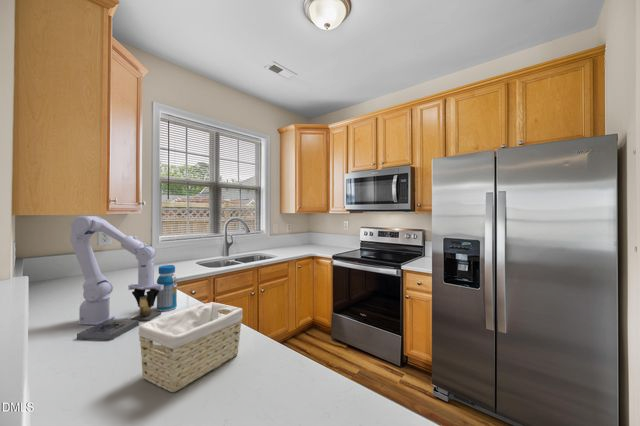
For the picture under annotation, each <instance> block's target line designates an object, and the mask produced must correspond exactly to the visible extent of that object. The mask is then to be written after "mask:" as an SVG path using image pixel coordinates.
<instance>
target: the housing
mask: <svg viewBox="0 0 640 426" xmlns="http://www.w3.org/2000/svg"><path fill="white" fill-rule="evenodd" d="M139 326H140V321H139V320H130V319H111V320H106V321H104V322H102V323H99V324H97V325H93V326H91V327H88V328H87V329H84V330H82V331H80V332H77V333H76V340H80V341H81V340H82V341H83V340H89V341H95V340H96V341H113V340H115V339H116V338H119V337H120V336H122V335H124V334H125V333H127V332H130V331H131V330H132V329H135V328H137V327H139Z"/></svg>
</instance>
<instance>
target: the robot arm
mask: <svg viewBox="0 0 640 426" xmlns="http://www.w3.org/2000/svg"><path fill="white" fill-rule="evenodd" d="M69 224H70V227H71V231H70V237H69V239H70V242H71V245H72V248H73V249H72V250H73V251H74V254H75V256H76V258H77V261H78V264H79V267H80V270H81V271H82V275H83V277H84V279H85V280H84V283H83V284H82V289H83V294H82V296H83V298H84V301H82V302H81V303H80V306H79V310H78V311H79V315H78V316H79V321H78V322H77V325H89V326H90V325H91V326H92V325H93V326H95V325H97V324H99V323H102V322H104V321H106V320H114V319H115V318H116V316H115V315H114V316H113V315H110V303H111V302H110V300H111V299H110V294H111V293H112V292H113V288H114V286H113V284H112V283H111V282H110V280H108V278H107V277H106V276H105V275H103V273H102V271H101V269H100V266H99V263H98V261H97V259H96V256H95V253H94V250H93V248H92V245H91V242H90V239H91V237H92V236H93V235H94V234H95V233H97V232H101V233H104V234H105V235H106V236H109V237H111V238H112V239H114V240H116V241H117V242H119V243H120V247H121V248H123V249H124V250H126V251H127V252H129V253H130V254H133V255H134V256H135V259H136V260H137V263H138V265H137V266H138V267H137V269H138V270H137V283H136V284H135V283H134V284H133V283H132V284H129V285H128V291H132V290H133V291H132V292H131V294H132V295H133V296H134V297H133V298H135V301H136V304H137V307H138V308H140V296H142V295H147V296H148V305H149V307H151V308H152V307H154V306H155V302H156V300H157V294H158V293H159V291H160V290H163V289H164V285H160V284H157V283H155V256H156V254H157V250H156V249H155V247H153V246H152V245H148V244H147V243H146V242H145V243H144V242H142V241H141V240H140V239H138V237H137V236H133V235H126V234H124V233H123V232H122V231H120V230H119V229H118V228H117V227H115V226H114V225H112V224H111V223H109V222H108V221H107V220H106V219H105V218H102V217H101V216H99V215H79V216H77V217H75V218H74V219H73V220H72V222H71V223H69Z"/></svg>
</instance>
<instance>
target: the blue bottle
mask: <svg viewBox="0 0 640 426" xmlns="http://www.w3.org/2000/svg"><path fill="white" fill-rule="evenodd" d="M175 272H176V266H175V265H173V264H165V265H161V266H159V267H158V277H157V279H156V284H160V285H164V289H163V290H160V291H159V293H158V294H157V296H156V310H157V312H168V311H172V310H175V309H176V308H177V302H178V301H177V298H178V295H177V291H178V283H177V281H178V279H177V277H176V275H175V274H174V273H175Z"/></svg>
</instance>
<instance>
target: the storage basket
mask: <svg viewBox="0 0 640 426" xmlns="http://www.w3.org/2000/svg"><path fill="white" fill-rule="evenodd" d="M243 312H244V311H243V308H242V307H237V306H233V305H228V304H223V303H218V302H213V301H211V302H207V303H201V304H199V305H195V306H191V307H189V308H186V309H183V310H179V311H177V312H175V313H171V314H167V315H164V316H161V317H158V318H157V317H156V318H154V319H152V320H150V321H146V322H145V323H143V324H139V325H138V338H139V339H138V340H139V342H140V343H139V346H140V355H141V356H140V357H141V371H142V378H143V379H145V380H147V382H150V383H152V384H153V385H156V386H157V387H159V388H163V389H164V390H166V391H168V392H171V393H175V392H177V391H179V390H181V389H183V388H185V387H186V386H188V385H189V384H191V383H193V382H194V381H195V380H197V379H199V378H201V377H203V376H205V374H207V373H209V372H210V371H213V370H215V369H217V368H219V367H220V366H222V365H223V364H224V363H225V362H227V361H230V360H231V359H232V358H234V357H236V356H237V355H238V354H239V345H240V336H241V326H242V322H243ZM219 314H223V315H222V316H220V317H219Z"/></svg>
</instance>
